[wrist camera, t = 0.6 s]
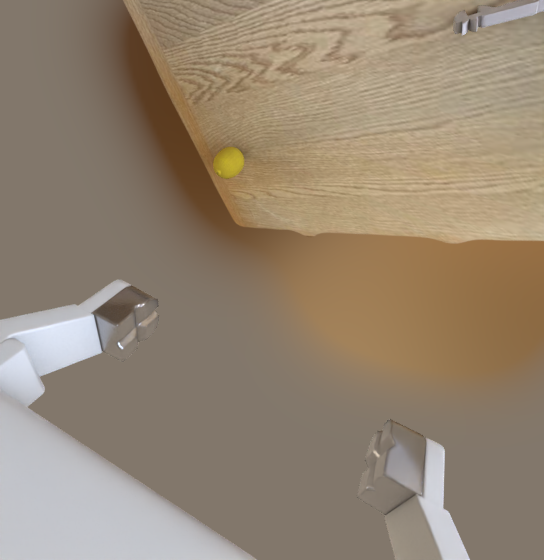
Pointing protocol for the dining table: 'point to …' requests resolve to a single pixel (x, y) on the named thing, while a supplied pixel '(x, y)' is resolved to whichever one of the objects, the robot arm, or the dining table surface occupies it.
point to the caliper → (496, 15)
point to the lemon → (228, 162)
